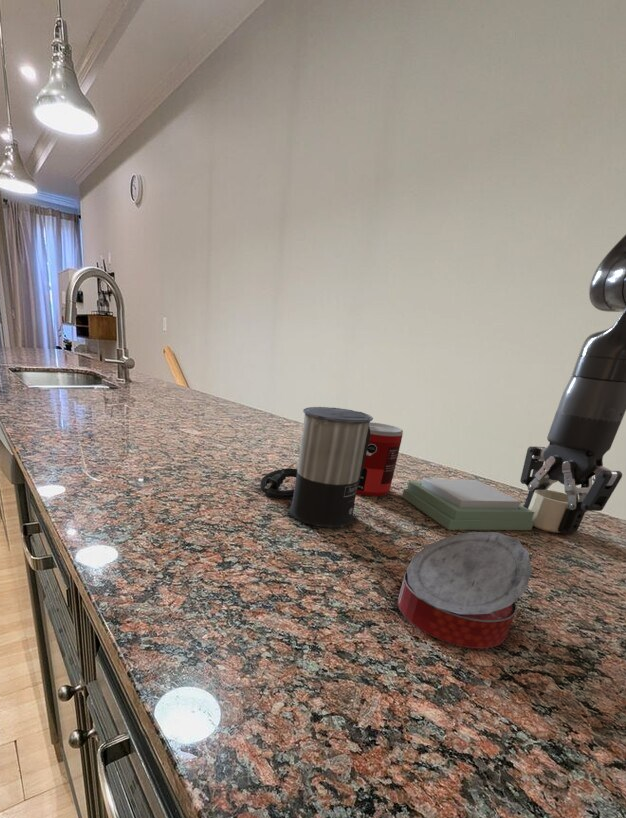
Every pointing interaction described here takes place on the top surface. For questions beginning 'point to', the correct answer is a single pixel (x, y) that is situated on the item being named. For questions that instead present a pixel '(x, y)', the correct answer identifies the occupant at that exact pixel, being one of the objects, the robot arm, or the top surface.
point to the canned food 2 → (466, 588)
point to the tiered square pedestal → (470, 494)
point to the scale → (466, 512)
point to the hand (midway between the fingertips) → (546, 522)
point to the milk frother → (325, 467)
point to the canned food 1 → (380, 460)
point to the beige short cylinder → (548, 509)
